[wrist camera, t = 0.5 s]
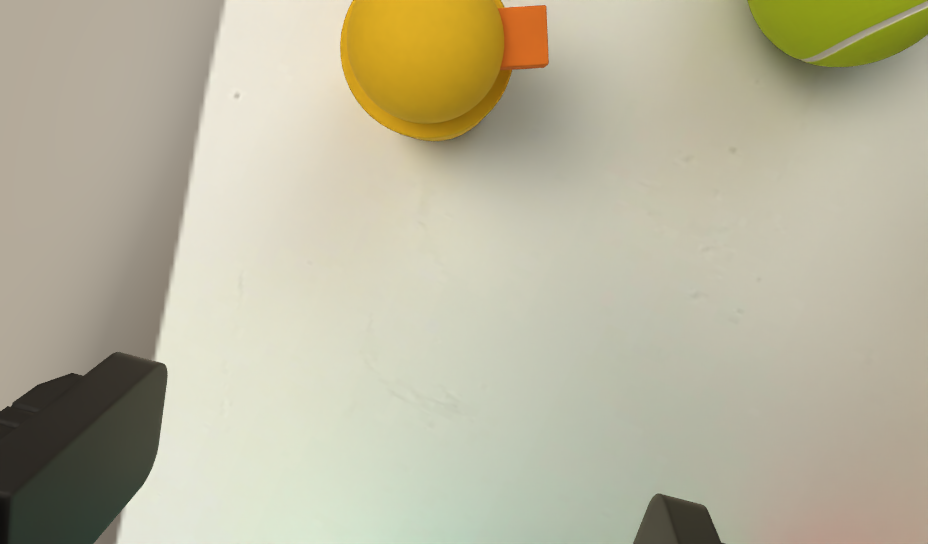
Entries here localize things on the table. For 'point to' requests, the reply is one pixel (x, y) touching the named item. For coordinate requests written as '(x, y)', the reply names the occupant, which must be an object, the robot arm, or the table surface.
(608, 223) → the table surface
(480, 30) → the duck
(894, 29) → the tennis ball
